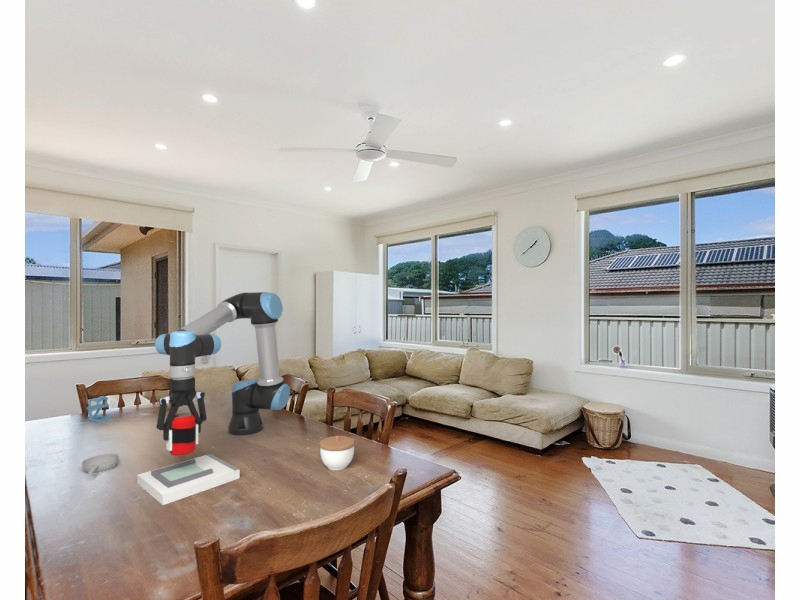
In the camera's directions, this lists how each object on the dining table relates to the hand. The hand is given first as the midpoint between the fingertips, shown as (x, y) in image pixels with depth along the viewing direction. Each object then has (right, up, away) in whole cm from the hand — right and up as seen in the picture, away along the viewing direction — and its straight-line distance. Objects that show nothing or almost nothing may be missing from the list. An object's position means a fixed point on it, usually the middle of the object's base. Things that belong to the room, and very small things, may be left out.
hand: (182, 446), depth 136 cm
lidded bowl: (+49, -12, +13) cm, 53 cm away
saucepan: (-35, -13, +9) cm, 38 cm away
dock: (+1, -12, +2) cm, 12 cm away
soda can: (0, -2, 0) cm, 2 cm away
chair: (-82, -13, +73) cm, 111 cm away
